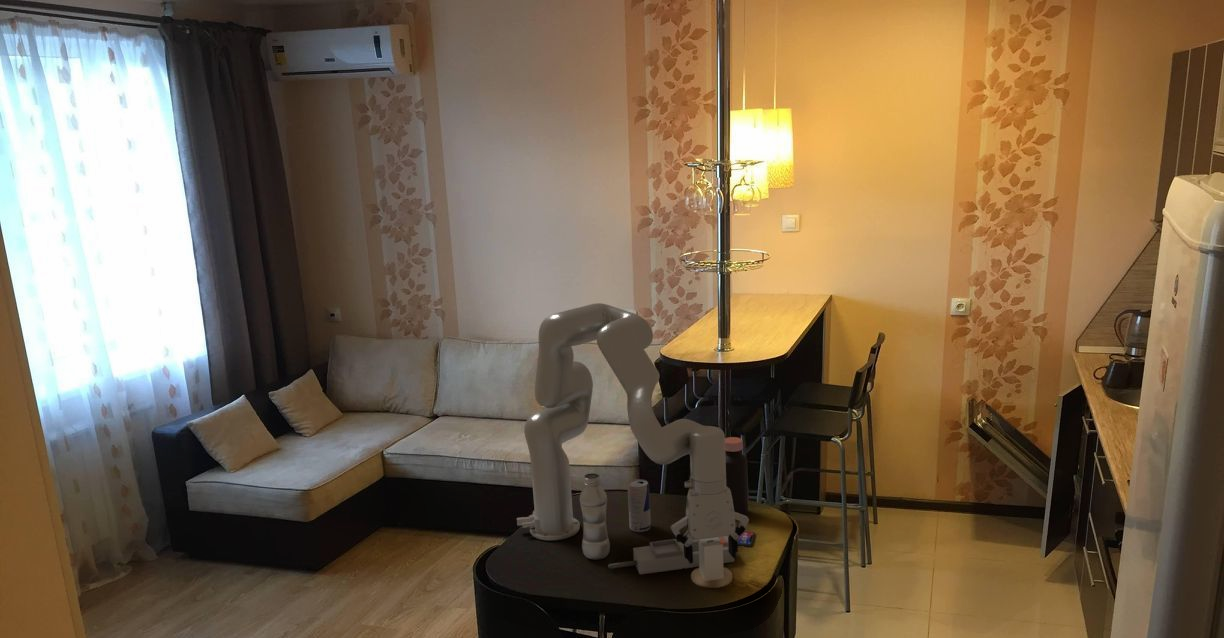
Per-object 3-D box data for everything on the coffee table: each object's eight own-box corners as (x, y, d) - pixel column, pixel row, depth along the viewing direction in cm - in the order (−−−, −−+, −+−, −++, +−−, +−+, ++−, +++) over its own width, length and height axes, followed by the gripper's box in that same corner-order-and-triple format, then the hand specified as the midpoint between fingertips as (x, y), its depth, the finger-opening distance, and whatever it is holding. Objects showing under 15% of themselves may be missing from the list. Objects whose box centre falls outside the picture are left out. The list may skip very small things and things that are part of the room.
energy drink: (654, 526, 211) (652, 481, 209) (644, 534, 207) (641, 488, 204) (636, 521, 214) (634, 477, 212) (625, 530, 209) (623, 485, 207)
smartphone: (694, 527, 208) (755, 531, 204) (694, 530, 208) (755, 535, 204) (688, 540, 201) (751, 545, 197) (689, 544, 201) (752, 549, 197)
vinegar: (727, 507, 220) (725, 434, 216) (752, 511, 216) (750, 437, 212) (717, 517, 214) (714, 442, 210) (742, 521, 211) (740, 446, 207)
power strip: (611, 578, 186) (610, 560, 185) (606, 564, 192) (605, 547, 192) (734, 561, 191) (733, 544, 190) (725, 548, 197) (725, 532, 196)
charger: (705, 581, 181) (703, 546, 180) (699, 572, 185) (698, 538, 184) (723, 578, 182) (722, 543, 181) (717, 569, 186) (716, 535, 185)
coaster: (697, 590, 179) (697, 588, 179) (686, 570, 188) (686, 568, 187) (737, 584, 180) (737, 582, 180) (725, 565, 189) (725, 563, 189)
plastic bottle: (596, 547, 201) (591, 468, 197) (616, 555, 196) (611, 475, 193) (576, 557, 197) (571, 476, 193) (596, 566, 192) (591, 483, 188)
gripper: (673, 495, 175) (676, 571, 178) (753, 485, 177) (754, 560, 181) (665, 482, 182) (668, 555, 185) (741, 473, 185) (743, 545, 188)
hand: (711, 557), depth 183 cm, fingers open, 9 cm apart
